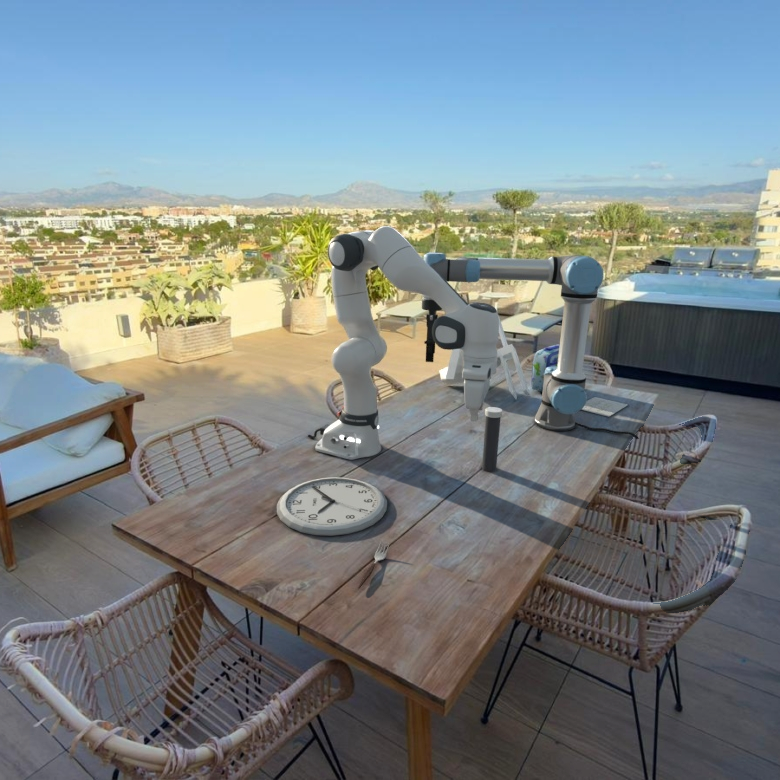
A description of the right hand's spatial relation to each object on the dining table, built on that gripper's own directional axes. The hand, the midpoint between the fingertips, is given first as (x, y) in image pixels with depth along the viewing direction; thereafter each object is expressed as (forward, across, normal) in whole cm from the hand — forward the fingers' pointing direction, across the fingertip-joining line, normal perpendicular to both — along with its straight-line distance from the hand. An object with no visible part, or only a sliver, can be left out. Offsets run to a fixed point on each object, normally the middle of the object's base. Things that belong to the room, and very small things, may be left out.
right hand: (430, 357), depth 190 cm
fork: (+28, +87, -8) cm, 91 cm away
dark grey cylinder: (+28, +31, +21) cm, 47 cm away
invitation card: (+28, -38, +73) cm, 87 cm away
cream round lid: (+8, +31, +21) cm, 38 cm away
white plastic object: (+28, -50, +22) cm, 61 cm away
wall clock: (+28, +61, -23) cm, 71 cm away
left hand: (+3, +49, +15) cm, 52 cm away
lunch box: (+28, -61, +56) cm, 88 cm away
